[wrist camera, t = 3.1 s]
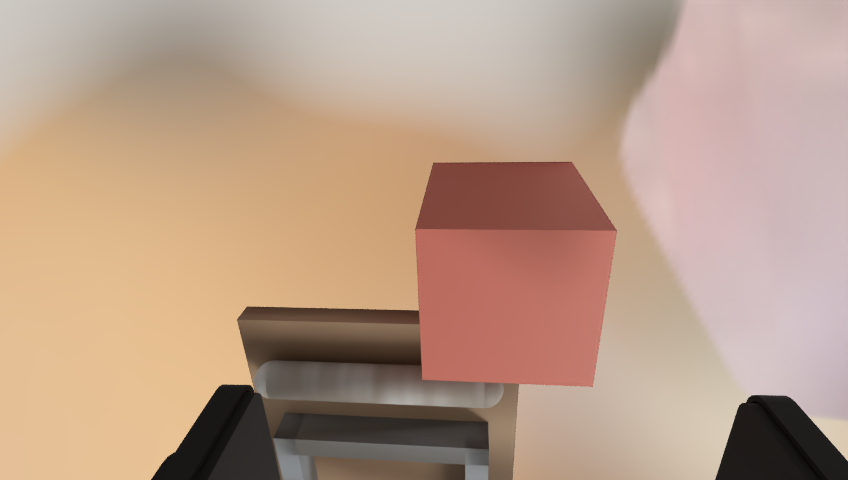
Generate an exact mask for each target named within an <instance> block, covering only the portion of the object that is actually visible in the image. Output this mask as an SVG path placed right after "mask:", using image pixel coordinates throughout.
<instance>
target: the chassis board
mask: <svg viewBox="0 0 848 480" xmlns="http://www.w3.org/2000/svg"><path fill="white" fill-rule="evenodd" d="M237 321H238V325H239V329H240V333H241V337H242V341H243V346H244V349H245V353H246V358H247V361H248V366H249V370H250V374H251V378H252V382H253V386H254V390H255V393H260V394H261V396H262V400H263V404H264V409H265V413H266V417H267V422H268V426H269V431H270V435H271V439H272V444H273V448H274V452H275V457H276V461H277V465H278V470H279V474H280V479H281V480H512V477H513V461H514V447H515V432H516V417H517V402H518V387H519V384H514V383H489V382H464V381H439V380H422V362H421V340H420V318H419V311H413V310H412V311H411V310H369V309H367V310H366V309H327V308H285V307H283V308H282V307H247V308H246V309H245V310H244V311H243V313H242V314H241V315H240V317H239V318H238V319H237Z"/></svg>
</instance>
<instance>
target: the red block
mask: <svg viewBox="0 0 848 480" xmlns="http://www.w3.org/2000/svg"><path fill="white" fill-rule="evenodd" d="M415 231H416V253H417V274H418V295H419V318H420V340H421V362H422V380H439V381H464V382H489V383H514V384H539V385H564V386H589V387H593V381H594V375H595V368H596V362H597V355H598V349H599V342H600V335H601V330H602V323H603V316H604V310H605V304H606V297H607V291H608V284H609V278H610V271H611V265H612V259H613V252H614V246H615V239H616V233H617V230H616V229H615V227H614V226H613V224H612V223H611V221H610V220H609V218H608V216H607V215H606V213H605V212H604V210H603V209H602V207H601V206H600V204H599V203H598V201H597V200H596V198H595V197H594V195H593V194H592V192H591V191H590V189H589V187H588V186H587V184H586V183H585V182H584V180H583V178H582V177H581V175H580V174H579V172H578V171H577V169H576V168H575V166H574V165H573V163H572V162H485V163H484V162H474V163H471V162H470V163H433V166H432V170H431V174H430V177H429V181H428V185H427V188H426V192H425V196H424V199H423V203H422V207H421V211H420V214H419V218H418V222H417V225H416V230H415Z"/></svg>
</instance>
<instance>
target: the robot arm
mask: <svg viewBox="0 0 848 480" xmlns="http://www.w3.org/2000/svg"><path fill="white" fill-rule="evenodd" d="M151 480H281V479H280V474H279V470H278V465H277V461H276V457H275V452H274V448H273V444H272V439H271V435H270V431H269V426H268V422H267V417H266V413H265V409H264V404H263V400H262V396H261V394H260V393H254V390H253V388H252V387H251V386H250V385H221V386H219V388H218V389H217V390H216V391H215V393H214V394H213V396H212V397H211V399H210V400H209V402H208V403H207V405H206V406H205V408H204V409H203V411H202V412H201V414H200V416H199V417H198V418H197V420H196V422H195V423H194V425H193V426H192V428H191V429H190V431H189V432H188V434H187V435H186V437H185V438H184V440H183V441H182V443H181V444H180V446H179V448H178V449H177V450H176V452H175V453H173V454H171V455H170V456H168V457H167V459H166V460H165V461H164V462H163V463H162V464H161V466H160V467H159V469H158V470H157V472H156V473H155V475H154V476H153V478H152V479H151ZM715 480H848V461H847V460H846V459H845V458H844V456H843V455H842V454H841V453H840V452H839V451H838V450H837V449H836V447H835V446H834V445H833V444H832V443H831V442H830V441H829V440H828V438H827V437H826V436H825V435H824V434H823V433H822V432H821V431H820V429H819V428H818V427H817V426H816V425H815V424H814V423H813V421H812V420H811V419H810V418H809V417H808V416H807V415H806V414H805V412H804V411H803V410H802V409H801V408H800V407H799V406H798V405H797V403H796V402H795V401H793V400H792V399H791V398H789V397H787V396H768V395H752V396H750V397H749V398H748V400H747V402H746V403H742V404H741V405H739V408H738V410H737V414H736V416H735V420H734V423H733V426H732V429H731V432H730V435H729V438H728V442H727V445H726V448H725V451H724V454H723V457H722V460H721V464H720V467H719V470H718V473H717V476H716V479H715Z"/></svg>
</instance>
